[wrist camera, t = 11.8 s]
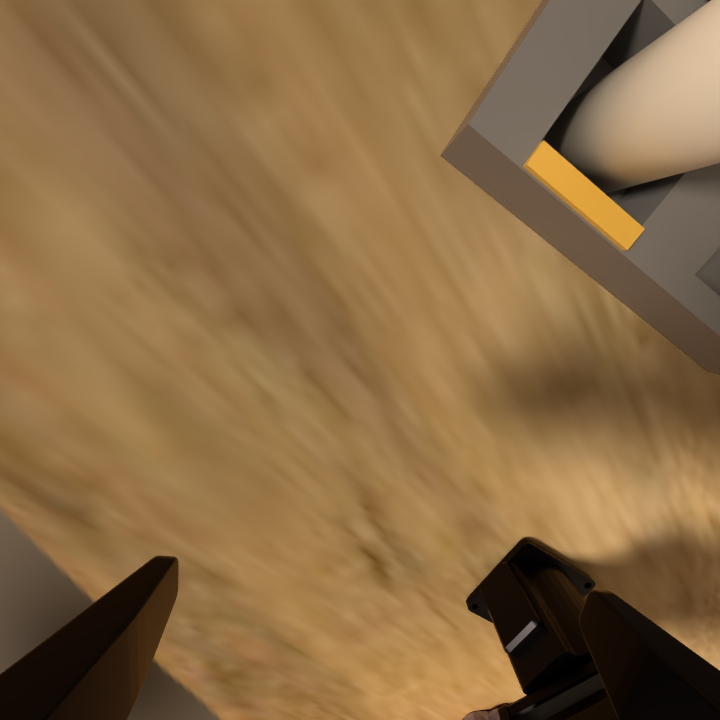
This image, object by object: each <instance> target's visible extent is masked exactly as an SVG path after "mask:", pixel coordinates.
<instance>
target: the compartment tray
mask: <svg viewBox="0 0 720 720" xmlns="http://www.w3.org/2000/svg"><path fill="white" fill-rule="evenodd" d="M708 2H709V0H543V1H542V2H541V4H540V5H539V7H538V8H537V10H536V11H535V13H534V14H533V16H532V17H531V19H530V20H529V22H528V23H527V25H526V26H525V28H524V29H523V31H522V32H521V34H520V36H519V37H518V39H517V40H516V42H515V43H514V45H513V46H512V48H511V49H510V51H509V52H508V54H507V55H506V57H505V58H504V60H503V61H502V63H501V64H500V66H499V67H498V69H497V71H496V72H495V74H494V75H493V77H492V78H491V80H490V81H489V83H488V84H487V86H486V87H485V89H484V90H483V92H482V93H481V95H480V96H479V98H478V99H477V101H476V102H475V104H474V105H473V107H472V109H471V110H470V112H469V113H468V115H467V116H466V118H465V119H464V121H463V122H462V124H461V125H460V127H459V128H458V130H457V131H456V133H455V134H454V136H453V137H452V139H451V140H450V142H449V144H448V145H447V147H446V148H445V150H444V151H443V153H442V154H441V156H442V157H443V158H444V159H445V160H447V161H448V162H449V163H450V164H452V165H453V166H454V167H455V168H457V169H458V170H459V171H460V172H461V173H463V174H464V175H465V176H466V177H468V178H469V179H470V180H471V181H473V182H474V183H475V184H476V185H478V186H479V187H480V188H481V189H483V190H484V191H485V192H486V193H487V194H489V195H490V196H491V197H492V198H494V199H495V200H496V201H497V202H499V203H500V204H501V205H502V206H504V207H505V208H506V209H507V210H509V211H510V212H511V213H512V214H513V215H515V216H516V217H517V218H518V219H520V220H521V221H522V222H523V223H525V224H526V225H527V226H528V227H530V228H531V229H532V230H533V231H535V232H536V233H537V234H538V235H539V236H541V237H542V238H543V239H544V240H546V241H547V242H548V243H549V244H551V245H552V246H553V247H554V248H556V249H557V250H558V251H559V252H561V253H562V254H563V255H564V256H565V257H567V258H568V259H569V260H570V261H572V262H573V263H574V264H575V265H577V266H578V267H579V268H580V269H582V270H583V271H584V272H585V273H587V274H588V275H589V276H590V277H592V278H593V279H594V280H595V281H596V282H598V283H599V284H600V285H601V286H603V287H604V288H605V289H606V290H608V291H609V292H610V293H611V294H613V295H614V296H615V297H616V298H618V299H619V300H620V301H621V302H622V303H624V304H625V305H626V306H627V307H629V308H630V309H631V310H632V311H634V312H635V313H636V314H637V315H639V316H640V317H641V318H642V319H644V320H645V321H646V322H647V323H648V324H650V325H651V326H652V327H653V328H655V329H656V330H657V331H658V332H660V333H661V334H662V335H663V336H665V337H666V338H667V339H668V340H670V341H671V342H672V343H673V344H674V345H676V346H677V347H678V348H679V349H681V350H682V351H683V352H684V353H686V354H687V355H688V356H689V357H691V358H692V359H693V360H694V361H696V362H697V363H698V364H699V365H700V366H702V367H703V368H704V369H705V370H707V371H709V372H712V373H716V374H719V375H720V163H718V164H714V165H710V166H707V167H703V168H699V169H695V170H692V171H688V172H684V173H680V174H676V175H673V176H669V177H665V178H661V179H658V180H654V181H650V182H646V183H643V184H639V185H635V186H631V187H627V188H624V189H620V190H616V191H612V192H609V193H604V192H602V191H601V190H600V189H599V188H598V187H597V186H596V185H594V184H593V183H592V182H591V181H590V180H589V179H588V178H586V177H585V176H584V175H583V174H582V173H581V172H580V171H578V170H577V169H576V168H575V167H574V166H573V165H572V164H570V163H569V162H568V161H567V160H566V159H565V158H564V157H562V156H561V155H560V154H559V153H558V152H557V151H556V150H554V149H553V148H552V147H551V146H550V145H549V144H548V143H546V142H545V138H546V134H547V132H548V130H549V129H550V128H551V126H552V125H553V123H554V122H555V121H556V119H557V118H558V116H559V115H560V114H561V112H562V111H563V109H564V108H565V107H566V105H567V104H568V103H569V102H570V101H571V100H573V99H574V98H575V97H577V96H578V95H580V94H581V93H582V92H584V91H585V90H587V89H588V88H589V87H591V86H592V85H594V84H595V83H596V82H598V81H599V80H601V79H602V78H603V77H605V76H606V75H608V74H609V73H610V72H612V71H613V70H614V69H616V68H617V67H619V66H620V65H621V64H623V63H624V62H626V61H627V60H628V59H630V58H631V57H633V56H634V55H635V54H637V53H638V52H640V51H641V50H642V49H644V48H645V47H647V46H648V45H649V44H651V43H652V42H654V41H655V40H656V39H658V38H659V37H660V36H662V35H663V34H665V33H666V32H667V31H669V30H670V29H672V28H673V27H674V26H676V25H677V24H679V23H680V22H681V21H683V20H684V19H686V18H687V17H688V16H690V15H691V14H693V13H694V12H695V11H697V10H698V9H699V8H701V7H702V6H704V5H705V4H706V3H708Z"/></svg>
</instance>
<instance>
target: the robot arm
mask: <svg viewBox="0 0 720 720" xmlns="http://www.w3.org/2000/svg"><path fill="white" fill-rule="evenodd" d="M526 547H527V548H526ZM525 548H526V549H525ZM594 587H595V582H594V581H593V580H592V578H591V577H590V576H589V575H587V574H586V573H584V572H582V571H581V570H579V569H577V568H576V567H574V566H572V565H570V564H569V563H567V562H565V561H564V560H562V559H560V558H559V557H557V556H555V555H554V554H552V553H550V552H549V551H547V550H545V549H544V548H542V547H540V546H538V545H537V544H535V543H533V542H532V541H530V540H527V539H524V540H521V541H520V542H519V543H518V544H517V545H516V546H515V547H514V548H513V549H512V551H511V552H510V553H509V554H508V555H507V556H506V557H505V558H504V559H503V560H502V561H501V562H500V564H499V565H498V566H497V567H496V568H495V569H494V570H493V571H492V572H491V573H490V574H489V575H488V577H487V578H486V579H485V580H484V581H483V582H482V583H481V584H480V585H479V586H478V587H477V588H476V590H475V591H474V592H473V593H472V594H471V595H470V596H469V597H468V598H467V600H466V604H467V607H468V609H469V610H470V611H471V612H473V613H475V614H477V615H478V616H480V617H482V618H484V619H486V620H488V621H490V622H492V623H493V624H494V627H495V629H496V631H497V634H498V636H499V639H500V641H501V644H502V646H503V648H504V651H505V652H506V653H507V654H508V657H509V659H510V661H511V664H512V666H513V669H514V671H515V674H516V676H517V678H518V681H519V683H520V686H521V688H522V690H523V692H524V693H525V694H527V695H526V696H524V697H523V698H521V699H519V700H517V701H515V702H514V703H512V704H510V705H507V704H505V705H503V706H501V707H500V708H498V712H499V717H500V720H720V671H719V670H718V669H717V668H715V667H714V666H712V665H711V664H710V663H708V662H707V661H706V660H704V659H703V658H701V657H700V656H699V655H697V654H696V653H695V652H693V651H692V650H691V649H689V648H688V647H686V646H685V645H684V644H682V643H681V642H680V641H678V640H677V639H675V638H674V637H673V636H671V635H670V634H669V633H667V632H666V631H664V630H663V629H662V628H660V627H659V626H658V625H656V624H655V623H653V622H652V621H651V620H649V619H648V618H647V617H645V616H644V615H643V614H641V613H640V612H638V611H637V610H636V609H634V608H633V607H632V606H630V605H629V604H627V603H626V602H625V601H623V600H622V599H621V598H619V597H618V596H616V595H615V594H614V593H612V592H609V591H601V590H592V589H593V588H594ZM591 590H592V591H591ZM590 591H591V592H590ZM177 593H178V559H177V558H176V557H171V556H156V557H154V558H152V559H151V560H150V561H148V562H147V563H146V564H144V565H143V566H142V567H141V568H139V569H138V570H137V571H135V572H134V573H133V574H131V575H130V576H129V577H127V578H126V579H125V580H123V581H122V582H121V583H119V584H118V585H117V586H116V587H114V588H113V589H112V590H110V591H109V592H108V593H106V594H105V595H104V596H102V597H101V598H100V599H98V600H97V601H96V602H94V603H93V604H92V605H91V606H89V607H88V608H87V609H85V610H84V611H83V612H81V613H80V614H79V615H77V616H76V617H75V618H74V619H72V620H71V621H70V622H68V623H67V624H66V625H64V626H63V627H62V628H60V629H59V630H58V631H56V632H55V633H54V634H53V635H51V636H50V637H48V638H47V639H46V640H45V641H43V642H42V643H41V644H40V645H38V646H37V647H35V648H34V649H33V650H31V651H30V652H29V653H27V654H26V655H25V656H24V657H22V658H21V659H20V660H18V661H17V662H16V663H14V664H13V665H12V666H10V667H9V668H8V669H6V670H5V671H4V672H2V673H1V674H0V720H127V718H128V716H129V714H130V712H131V710H132V708H133V706H134V703H135V701H136V699H137V697H138V695H139V692H140V690H141V688H142V685H143V683H144V680H145V678H146V675H147V673H148V670H149V668H150V665H151V662H152V660H153V657H154V655H155V652H156V650H157V647H158V644H159V642H160V639H161V637H162V634H163V632H164V629H165V626H166V624H167V621H168V619H169V616H170V613H171V611H172V608H173V606H174V603H175V600H176V597H177ZM588 593H589V594H588ZM587 594H588V596H587V599H585V598H584V597H585V596H586V595H587Z"/></svg>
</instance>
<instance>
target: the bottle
mask: <svg viewBox="0 0 720 720" xmlns="http://www.w3.org/2000/svg"><path fill="white" fill-rule="evenodd" d="M545 142H546V143H548V144H549V145H550V146H551V147H552V148H553V149H554V150H556V151H557V152H558V153H559V154H560V155H561V156H562V157H564V158H565V159H566V160H567V161H568V162H569V163H570V164H572V165H573V166H574V167H575V168H576V169H577V170H578V171H580V172H581V173H582V174H583V175H584V176H585V177H586V178H588V179H589V180H590V181H591V182H592V183H593V184H594V185H596V186H597V187H598V188H599V189H600V190H601V191H602V192H604V193H609V192H612V191H616V190H620V189H624V188H627V187H631V186H635V185H639V184H643V183H646V182H650V181H654V180H658V179H661V178H665V177H669V176H673V175H676V174H680V173H684V172H688V171H692V170H695V169H699V168H703V167H707V166H710V165H714V164H718V163H720V0H711V1H709V2H708V3H706V4H705V5H704V6H702V7H701V8H699V9H698V10H697V11H695V12H694V13H693V14H691V15H690V16H688V17H687V18H686V19H684V20H683V21H681V22H680V23H679V24H677V25H676V26H674V27H673V28H672V29H670V30H669V31H667V32H666V33H665V34H663V35H662V36H660V37H659V38H658V39H656V40H655V41H654V42H652V43H651V44H649V45H648V46H647V47H645V48H644V49H642V50H641V51H640V52H638V53H637V54H635V55H634V56H633V57H631V58H630V59H628V60H627V61H626V62H624V63H623V64H621V65H620V66H619V67H617V68H616V69H614V70H613V71H612V72H610V73H609V74H608V75H606V76H605V77H603V78H602V79H601V80H599V81H598V82H596V83H595V84H594V85H592V86H591V87H589V88H588V89H587V90H585V91H584V92H582V93H581V94H580V95H578V96H577V97H575V98H574V99H573V100H571V101H570V102H569V103H568V104H567V105H566V107H565V108H564V109H563V111H562V112H561V114H560V115H559V116H558V118H557V119H556V121H555V122H554V123H553V125H552V126H551V128H550V129H549V130H548V132H547V134H546V138H545Z"/></svg>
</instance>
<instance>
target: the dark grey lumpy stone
mask: <svg viewBox="0 0 720 720" xmlns="http://www.w3.org/2000/svg"><path fill="white" fill-rule="evenodd" d="M462 720H500V717H499V712H498V708H496V709H493V710H491V711H476V712H472V713H469V714H468V715H466V716H465V717H464V718H463V719H462Z"/></svg>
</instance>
